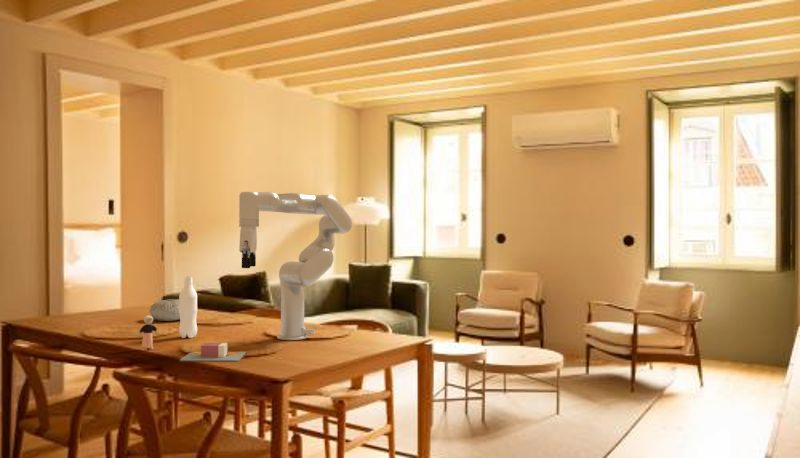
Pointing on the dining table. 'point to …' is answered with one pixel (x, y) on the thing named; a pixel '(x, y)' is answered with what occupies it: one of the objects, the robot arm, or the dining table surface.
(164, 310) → the grey rounded rock
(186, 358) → the mat
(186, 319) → the water bottle
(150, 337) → the grandmother figurine
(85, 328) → the dining table surface
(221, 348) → the card deck
